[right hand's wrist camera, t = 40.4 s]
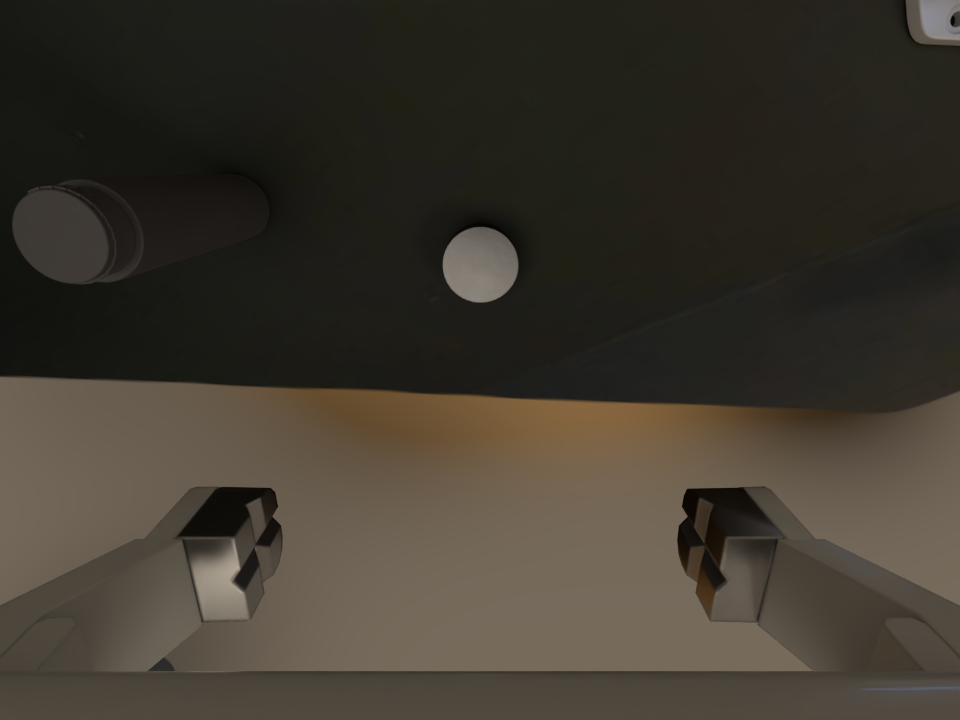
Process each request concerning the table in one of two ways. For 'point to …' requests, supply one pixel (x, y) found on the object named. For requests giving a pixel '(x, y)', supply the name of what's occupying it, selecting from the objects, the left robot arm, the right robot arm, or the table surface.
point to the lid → (480, 263)
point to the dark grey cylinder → (133, 223)
